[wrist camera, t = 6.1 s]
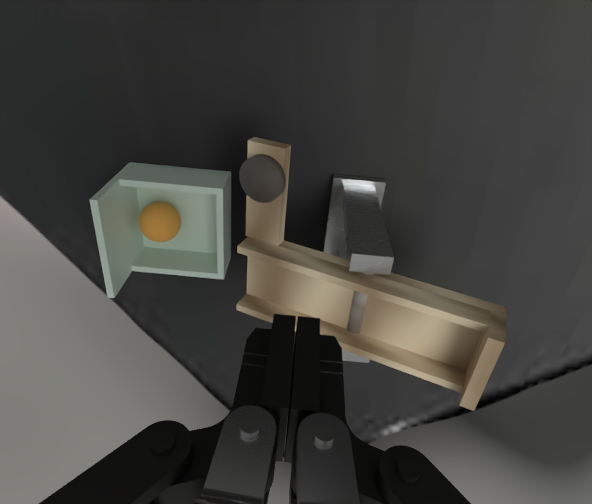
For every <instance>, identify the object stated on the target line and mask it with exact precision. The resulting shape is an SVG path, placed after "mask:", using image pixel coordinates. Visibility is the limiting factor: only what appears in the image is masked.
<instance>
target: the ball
mask: <svg viewBox="0 0 592 504" xmlns="http://www.w3.org/2000/svg"><path fill="white" fill-rule="evenodd" d="M139 227H140V230H141V232H142V233H143V234H144V236H145V237H147V238H148V239H150V240H152V241H155V242H166V241H169V240H171V239H172V238H174V237H175V236H176V235H177V233H178V232H179V230H180V227H181V218H180V215H179V213H178V211H177V210H176V209H175V208H174V207H173V206H172V205H170V204H168V203H165V202H154V203H151V204H149V205H147V206H146V207H145V208H144V209H143V210H142V212H141V214H140V216H139Z"/></svg>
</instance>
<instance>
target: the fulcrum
mask: <svg viewBox="0 0 592 504" xmlns="http://www.w3.org/2000/svg"><path fill="white" fill-rule="evenodd" d="M385 185H386V182H385V179H382V178H371V177H360V176H350V175H339V174H333V181H332V189H331V196H330V203H329V211H328V218H327V226H326V233H325V241H324V248H323V252H324V253H327V254H331V255H334V256H337V257H341V258H344V259H347V260H348V266H349V271H353V272H364V273H375V274H386V275H390V273H391V269H392V265H393V260H394V255H393V252H392V248H391V244H390V241H389V237H388V234H387V230H386V226H385V223H384V219H383V215H382V212H381V204H382V199H383V194H384V189H385ZM342 360H344V361H355V362H366V363H369V361H370V359H368V358H365V357H363V356H360V355H357V354H354V353H352V352H349V351H346V350H344V349H342Z"/></svg>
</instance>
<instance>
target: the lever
mask: <svg viewBox="0 0 592 504" xmlns="http://www.w3.org/2000/svg"><path fill="white" fill-rule="evenodd" d="M290 151H291V145H288V144H284V143H279V142H275V141H270V140H266V139H261V138H257V137H253V138H251V139H249V140H248V153H247V160H246V161H245V162H244V163H243V164H242V166H241V168H240V171H239V180H240V184H241V186H242V188H243V190H244V192H245V193H246V194H247V196H246V236H248V237H247V238H246V239H245V240H244V241H243V242H241V243H240V244H239V245H238V246H237V253H240V254H243V255H246V256H248V265H247V294H246V295H245V296H244V297H243V298H242V299H241V300H240V301H239V302H238V303H237V310H238V311H241V312H244V313H246V314H249V315H252V316H254V317H257V318H260V319H262V320H265V321H268V322H271V323H273V317H274V314H283V315H293V316H296V322H295V332H296V327H297V318H298V316H303V317H313V318H320V335H330V336H335V337H336V339H337V341H338V343H339V344H340V346H341V348H342V349H344V350H346V351H349V352H352V353H354V354H357V355H360V356H363V357H365V358H368V359H371V360H373V361H376V362H379V363H382V364H384V365H387V366H390V367H392V368H395V369H398V370H400V371H403V372H406V373H409V374H411V375H414V376H417V377H419V378H422V379H425V380H428V381H430V382H433V383H436V384H438V385H441V386H444V387H446V388H449V389H452V390H455V391H457V392H460V393H461V398H460V405H459V406H462V407H465V408H467V409H470V410H473V411H474V410H475V408H476V406H477V403H478V401H479V399H480V397H481V395H482V392H483V390H484V388H485V386H486V384H487V381H488V379H489V377H490V375H491V373H492V370H493V368H494V366H495V364H496V362H497V359H498V357H499V355H500V353H501V351H502V348H503V346H504V344H505V331H506V307H503V306H500V305H497V304H494V303H490V302H487V301H484V300H480V299H477V298H474V297H470V296H467V295H464V294H460V293H457V292H454V291H450V290H447V289H444V288H440V287H437V286H434V285H430V284H427V283H424V282H420V281H417V280H414V279H410V278H407V277H404V276H400V275H397V274H394V273H390V275H386V274H375V273H364V272H353V271H349V266H348V260H347V259H344V258H341V257H337V256H334V255H331V254H327V253H324V252H321V251H317V250H314V249H311V248H307V247H304V246H301V245H297V244H294V243H291V242H287V241H284V229H285V216H286V203H287V190H288V177H289V164H290Z"/></svg>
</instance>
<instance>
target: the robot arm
mask: <svg viewBox="0 0 592 504" xmlns="http://www.w3.org/2000/svg"><path fill="white" fill-rule="evenodd" d="M295 322H296V316H293V315H283V314H274V317H273V323H272V330H271V329H261V328H255V330H254V331H253V332H252V333H251V335H250V336H249V337H248V338H247V341H246V346H245V351H244V355H243V360H242V365H241V369H240V374H239V379H238V384H237V388H236V393H235V398H234V403H233V406H232V409H231V411H230V412H229V414H228V415H227V416H226V417H225V419H223V420H222V421H221V422H219V423H217V424H216V425H213V426H211V427H208V428H203V429H197V430H192V431H189V430H188V429H187V428H186V427H185V426H184V425H183V424H181V423H179V422H176V421H170V420H167V421H160V422H156V423H154V424H152V425H150V426H148V427H147V428H145V429H144V430H142V431H141V432H140V433H138V434H137V435H135V436H134V437H133V438H131V439H130V440H128V441H127V442H126V443H124V444H123V445H121V446H120V447H118V448H117V449H116V450H114V451H113V452H111V453H110V454H108V455H107V456H106V457H104V458H103V459H102V460H100V461H99V462H97V463H96V464H95V465H93V466H92V467H90V468H89V469H87V470H86V471H85V472H83V473H82V474H80V475H79V476H77V477H76V478H75V479H73V480H72V481H70V482H69V483H67V484H66V485H65V486H63V487H62V488H60V489H59V490H58V491H56V492H55V493H53V494H52V495H51V496H49V497H48V498H46V499H45V500H43V501H42V502H41V503H39V504H267V503H268V498H269V492H270V487H271V486H272V483H273V479H274V470H275V461H281V462H282V457H283V449H284V441H285V433H286V425H287V434H286V447H285V459H284V461H285V462H292V465H291V479H290V486H289V504H471V503H470V502H469V501H468V500H467V499H466V498H465V497H464V496H463V495H462V494H461V493H460V492H459V491H458V490H457V489H456V488H455V487H454V486H453V485H452V484H451V483H450V482H449V481H448V479H446V477H445V476H443V474H442V473H441V472H440V471H439V470H438V469H437V468H436V467H435V466H434V465H433V464H432V463H431V462H430V461H429V460H428V459H427V458H426V457H425V456H424V455H423V454H422V453H420V452H419V451H417V450H415V449H414V448H411V447H408V446H394V447H391V448H389V449H387V450H386V451H383V450H380V449H378V448H376V447H373V446H370V445H369V444H366V443H364V442H363V441H361V440H360V439H359V438H357V437H356V436H355V435H354V434H353V433H352V431H351V430H350V428H349V426H348V424H347V422H346V417H345V401H344V381H343V365H342V362H343V361H342V348H341V346H340V344H339V343H338V341H337V339H336V337H335V336H330V335H320V318H313V317H303V316H298V318H297V327H296V335H295ZM294 335H295V343H294ZM293 347H294V351H293ZM292 359H293V361H292ZM290 384H291V385H290ZM287 417H288V422H287Z"/></svg>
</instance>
